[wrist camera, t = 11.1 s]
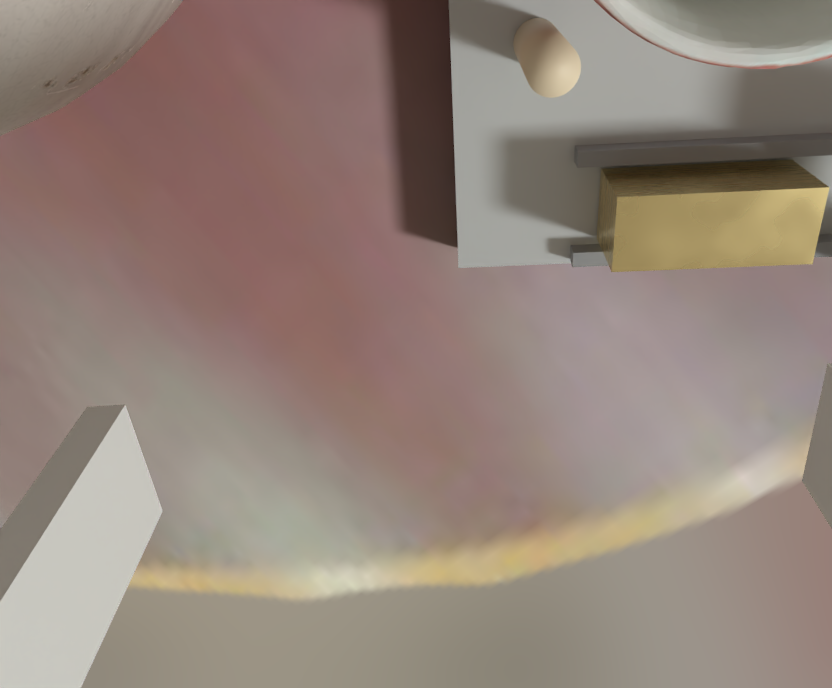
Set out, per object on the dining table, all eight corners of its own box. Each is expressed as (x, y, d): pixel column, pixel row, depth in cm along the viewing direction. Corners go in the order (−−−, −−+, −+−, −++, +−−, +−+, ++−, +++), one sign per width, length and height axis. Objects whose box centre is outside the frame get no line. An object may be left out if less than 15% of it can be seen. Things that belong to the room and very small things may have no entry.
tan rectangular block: (596, 237, 30) (611, 271, 27) (600, 168, 28) (617, 197, 26) (778, 230, 29) (812, 263, 26) (791, 159, 28) (829, 187, 25)
